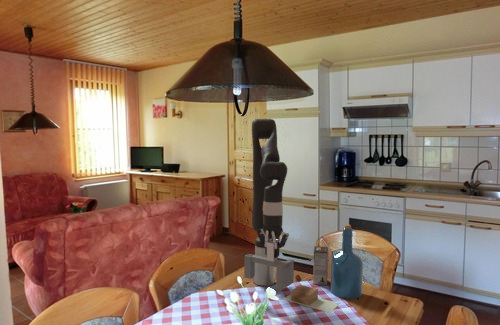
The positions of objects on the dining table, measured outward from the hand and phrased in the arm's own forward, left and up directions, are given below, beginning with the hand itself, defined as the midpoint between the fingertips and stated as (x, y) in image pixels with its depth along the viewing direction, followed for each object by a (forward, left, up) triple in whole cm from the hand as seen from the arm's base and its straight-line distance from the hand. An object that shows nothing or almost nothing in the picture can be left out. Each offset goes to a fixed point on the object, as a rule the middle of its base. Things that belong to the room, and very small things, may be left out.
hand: (272, 256), depth 140 cm
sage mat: (+12, +11, -19) cm, 25 cm away
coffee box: (+6, +34, -20) cm, 40 cm away
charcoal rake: (-2, 0, -10) cm, 11 cm away
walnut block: (+9, +11, -18) cm, 23 cm away
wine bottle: (+20, +28, -20) cm, 40 cm away
